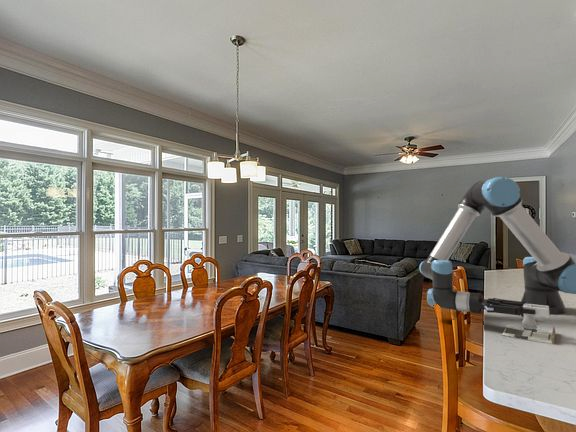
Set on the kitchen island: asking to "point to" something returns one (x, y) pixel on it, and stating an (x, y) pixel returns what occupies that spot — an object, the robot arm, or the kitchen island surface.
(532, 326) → the rook chess piece
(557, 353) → the kitchen island surface
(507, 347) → the kitchen island surface
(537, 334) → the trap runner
